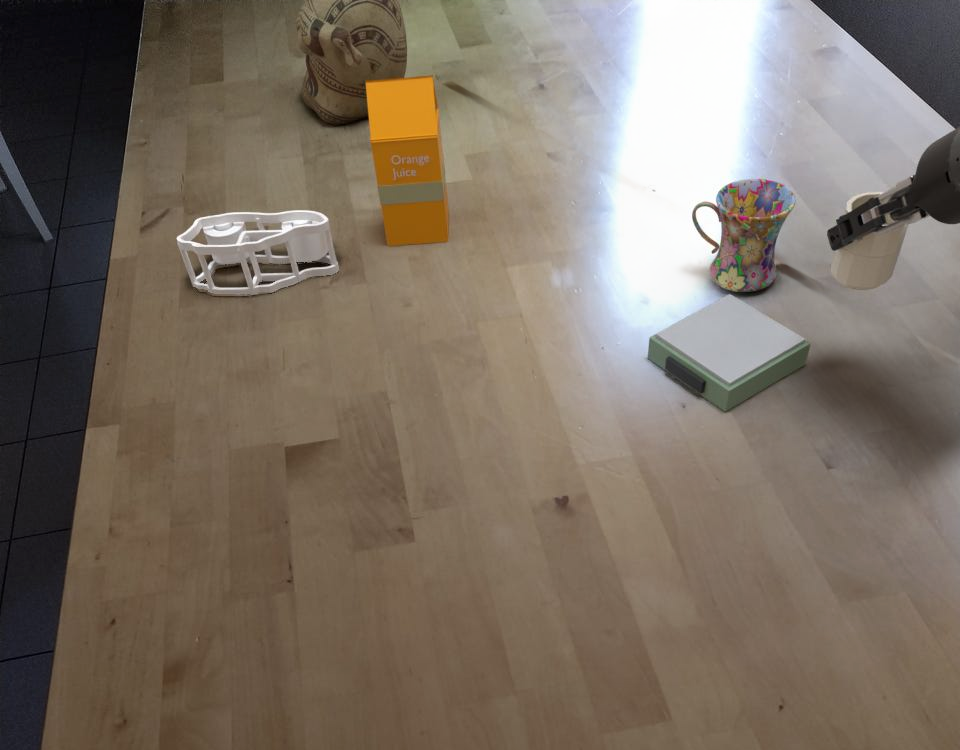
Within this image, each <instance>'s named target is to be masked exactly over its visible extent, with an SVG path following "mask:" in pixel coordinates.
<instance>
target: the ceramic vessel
mask: <svg viewBox="0 0 960 750" xmlns="http://www.w3.org/2000/svg"><path fill="white" fill-rule="evenodd" d="M295 28H296V32H297V44H298V45H297V46H298V47H299V50H300V51H301V52H302V53H303V54H305V67H306V71H305V73H304V78H303V81H302V86H301V95H302V99H303V101H304V103H305V104H306V106H308V107H309V108H310V109H311V110H312V111H314V112H315V113H316V114H317V115H318V117H319V118H320V119H321V120H322V121H323V122H325V123H327V124H329V125H334V124H335V125H334V126H338V125H337V124H342V125H346V124H350V123H353V122H357V121H359V119H360V120H362V119H364V118H369V115H368V104H367V93H366V82H365V81H372V80H384V79H396V78H405V76H406V72H407V65H408V40H407V32H406V25H405V19H404V14H403V11H402V7H401V5H400V1H399V0H302V4H301V8H300V10H299V12H298V15H297V17H296V21H295ZM356 120H357V121H356Z"/></svg>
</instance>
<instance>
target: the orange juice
mask: <svg viewBox="0 0 960 750" xmlns="http://www.w3.org/2000/svg"><path fill="white" fill-rule="evenodd" d="M365 82H366V93H367V104H368V115H369V116H368V124H369V134H370V135H369V136H370V137H369V142H370V147H371V153H372V154H371V155H372V160H373V165H374V171H375V172H374V173H375V178H376V183H377V184H376V185H377V192H378V198H379V203H380V208H381V214H382V220H383V225H384V226H383V227H384V233H385V238H386V244H387V245H386V246H387V247H396V246H408V245H421V244H435V243H448V242H449V237H450V236H449V235H450V233H449V232H450V207H449V199H448V190H447V179H446V169H445V168H446V167H445V157H444V150H443V139H442V132H441V130H442V129H441V121H440V111H439V110H440V109H439V106H438V105H439V104H438V99H437V94H436V93H437V92H436V88H435V87H436V86H435V81H434V75H432V74H431V75H423V76H422V75H421V76H410V77H404V78H396V79H384V80H372V81H365Z"/></svg>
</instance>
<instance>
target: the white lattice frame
mask: <svg viewBox="0 0 960 750" xmlns="http://www.w3.org/2000/svg"><path fill="white" fill-rule="evenodd" d="M246 223H256V225H257V228H258V229H257V230H247V228H246ZM264 223H265V224H279V223H281V227H280V228H281V229H265V225H264ZM330 226H331V225H330V221H329V218H328V216H326V215H325V214H324V213H322V212H319V211H315V210H304V209H298V210H296V209H295V210H294V209H293V210H286V211H282V212H280V211H279V212H272V213H271V212H256V211H255V212H253V211H251V212H250V211H240V212H239V211H238V212H237V211H236V212H225V213H220V214H215V215H208V216H203V217H198V218H196V219H195V220H194V222H193V223H192V225H191V226H190V227H189V228H188V229H186V230H185V231H184V232H182V233H181V234H179V235H178V236H176V241H177V242H176V244H177V247H178V249H179V252H180V255H181V258H182V261H183V263H184V266H185V268H186V271H187V274H188V277H189V279H190V282H191V286H192V287H196V288H198V289H204V290H208V292H210V293H214V294H236V295H237V294H238V295H240V294H245V295H246V294H251V295H254V294H257V293H259V292H268V293H269V292H270V293H271V292H274V291H276V290H278V289H280V288H283V287H287V288H289V287H288V286H290V285H294V284H296V283H298V282H300V281H301V280H303V279H305V280H307V279H306V278H308V277H312V276H321V275H322V276H324V277H327V276H326V275H331V276H334V275H336V274H338V273H339V272H340V265H339V262H338V260H337V256H336V252H335V247H334V242H333V238H332V233H331V227H330ZM201 230H203V234H204V237H205V240H206V243H207V244H202V243H199V242H196V241H192V240H193V239H194V238H196V237H197V236H198V235H199V234H200V232H201ZM281 244H285V247H286V252H287V255H273V254H272V250H271V247H274V246H277V245H281ZM188 251H189V252H194V254H196V255H197V258H198V261H199V264H200V267H201V268H202V272H201V273H200V274H199V275H197V276H196V274H195V271H194V267H193V266H192V262H191V260H190V257H189V253H188ZM261 251H264V254H256V252H257V253H258V252H261ZM205 255H206V256H211V257H212V261H210V262H209V264H208V263H207V260H206V257H205ZM248 261H250V262H251V263H252V264H251V266H252V270H253V273H254V276H253V277H252V275H251V271H250V268H249V264H247V262H248ZM257 261H258V262H260V261H261V262H268V263H281V264H282V263H283V264H285V263H286V264H287V263H291V265H290V267H291V271H292V272H274V273H273V272H272V273H269V272H267V273H266V272H265V273H261V269H260V266H259V265H260V264H258V262H257ZM312 261H318V262H320V261H321V262H325V263H328V264H330V265H328V264H327V265H328V266H321V267H309V268H305V269H302V270H299V267H298V264H297V263H296V262H304V263H305V262H307V263H313V262H312ZM236 263H241V265H240V266H241V268H242V271H243V275H244V278H245V281H246V284H247V286H246V287H245V286H244V287H218V286H216V285H215V283H214V281H213V278H212V277H213V276H212V277H211V273H212V272H213V270H214V268H215V267H216V266H218V265H225V264H227V265H228V264H236ZM304 263H303V264H304ZM305 264H306V263H305ZM338 271H339V272H338ZM337 272H338V273H337ZM335 273H336V274H335ZM333 274H334V275H333ZM312 278H313V277H312ZM204 279H206V281H207V282H206V283H205V284H204V283H200V282H201V281H203V280H204ZM308 279H309V278H308ZM262 280H263V281H275V282H273V283H268V284H260V285H258V284H259V282H262ZM300 283H301V282H300ZM296 285H297V284H296ZM294 286H295V285H294Z"/></svg>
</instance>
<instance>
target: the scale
mask: <svg viewBox="0 0 960 750" xmlns="http://www.w3.org/2000/svg"><path fill="white" fill-rule="evenodd" d="M811 344H812V343H811V342H810V341H808V340H807V339H806V338H805V337H803V336H801V335H799V334H798V333H796V332H794V331H793V330H791V329H790V328H788V327H786V326H784V325H782V324H781V323H779V322H778V321H776V320H774V319H773V318H771V317H769V316H767V315H766V314H764V313H762V312H761V311H759V310H757V309H756V308H754V307H753V306H750V305H749V304H747V303H746V302H744V301H743V300H741V299H739V298H737V297H735V296H734V295H732V294H731V293H729V294H727V295H724V296H722V297H721V298H719V299H717V300H716V301H714V302H712V303H710V304H708V305H706V306H704V307H703V308H701V309H699V310H697V311H695V312H693V313H692V314H689V315H688V316H686V317H684V318H683V319H681V320H679V321H677V322H675V323H672V324H671V325H670V326H668V327H666V328H664V329H662V330H660V331H659V332H656V333H655V334H653V335H651V336H650V337H649V339H648V347H647V348H648V350H647V360H649V361H651V362H652V363H654V364H655V365H656V366H657V367H659V368H661V369H662V370H663V371H665V372H666V373H668V374H669V375H671V376H672V377H674V378H675V379H677V381H679V382H681V383H683V384H684V385H685V386H686V387H688V388H689V389H691V390H692V391H694V392H695V393H696V394H698V395H700V396H701V397H702V398H704V399H705V400H706V401H708V402H710V403H711V404H712V405H714V406H715V407H717V408H719V409H720V410H721V411H723V412H724V413H726V412H728V411H729V410H731V409H733V408H734V407H737V406H738V405H740V404H742V403H743V402H745V401H746V400H748V399H750V398H751V397H753V396H755V395H756V394H758V393H760V392H761V391H763V390H765V389H766V388H768V387H770V386H771V385H773V384H775V383H776V382H779V381H780V380H782V379H784V378H786V377H787V376H788V375H791V374H792V373H793V372H795V371H797V370H798V369H800V368H802V367H803V366H805V365H806V363H807V360H808V354H809V351H810V348H811Z"/></svg>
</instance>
